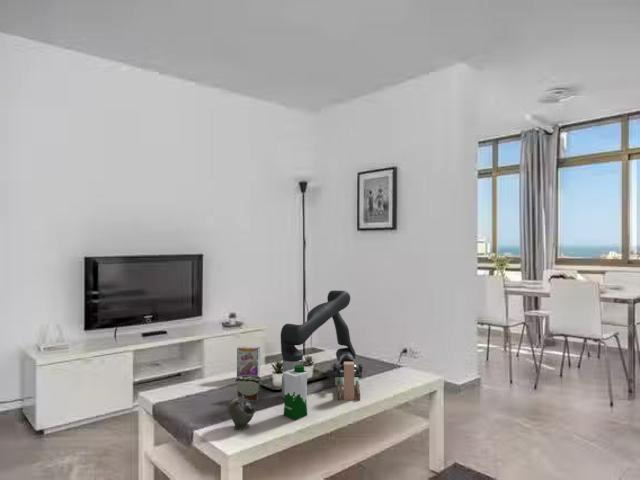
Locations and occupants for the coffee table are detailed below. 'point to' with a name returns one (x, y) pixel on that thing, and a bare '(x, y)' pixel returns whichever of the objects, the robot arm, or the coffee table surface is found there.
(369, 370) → the coffee table surface
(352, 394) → the terracotta post
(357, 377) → the pad
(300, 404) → the milk carton
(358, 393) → the walled channel
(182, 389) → the coffee table surface
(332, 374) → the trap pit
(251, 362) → the candy bar box
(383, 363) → the coffee table surface
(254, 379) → the food container
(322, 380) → the coffee table surface
